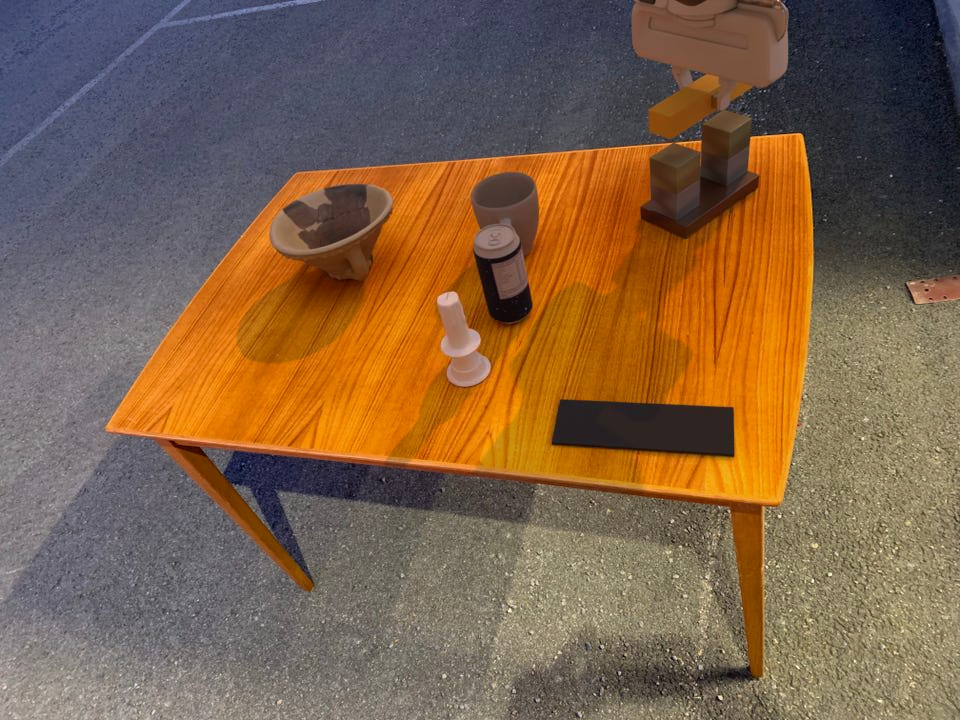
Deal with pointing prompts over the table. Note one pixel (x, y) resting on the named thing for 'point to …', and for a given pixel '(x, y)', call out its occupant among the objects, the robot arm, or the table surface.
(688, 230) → the tower
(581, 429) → the mat
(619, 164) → the table surface
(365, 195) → the bowl
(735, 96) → the bar
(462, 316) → the candle
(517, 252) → the beverage can
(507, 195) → the mug
